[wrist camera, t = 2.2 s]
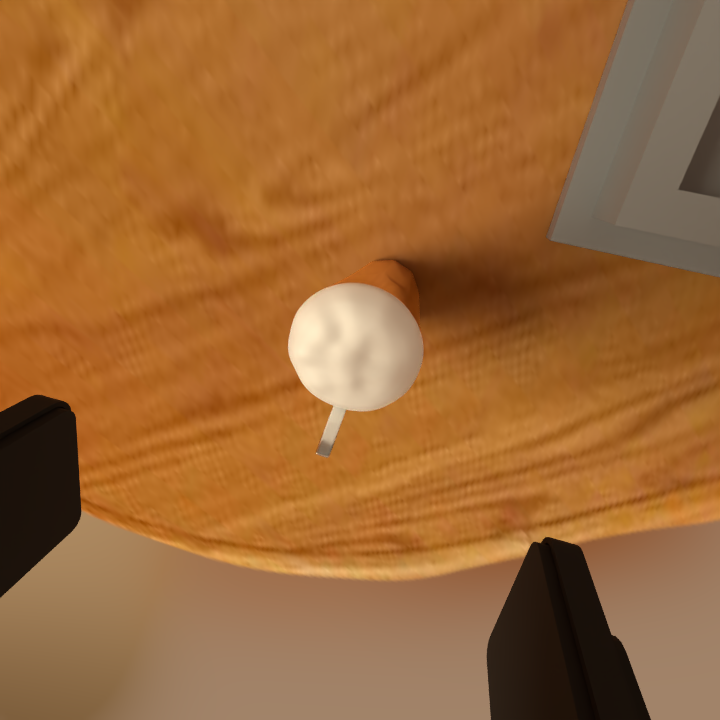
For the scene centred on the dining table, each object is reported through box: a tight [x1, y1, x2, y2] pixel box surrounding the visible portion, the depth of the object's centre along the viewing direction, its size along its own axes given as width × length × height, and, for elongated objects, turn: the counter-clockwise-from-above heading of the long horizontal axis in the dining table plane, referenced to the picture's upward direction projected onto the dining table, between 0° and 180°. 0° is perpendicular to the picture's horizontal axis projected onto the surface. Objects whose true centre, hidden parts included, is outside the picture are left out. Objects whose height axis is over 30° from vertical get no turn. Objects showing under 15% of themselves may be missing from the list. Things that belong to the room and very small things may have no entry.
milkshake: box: [288, 260, 423, 458], centre depth 19 cm, size 4×5×10 cm
